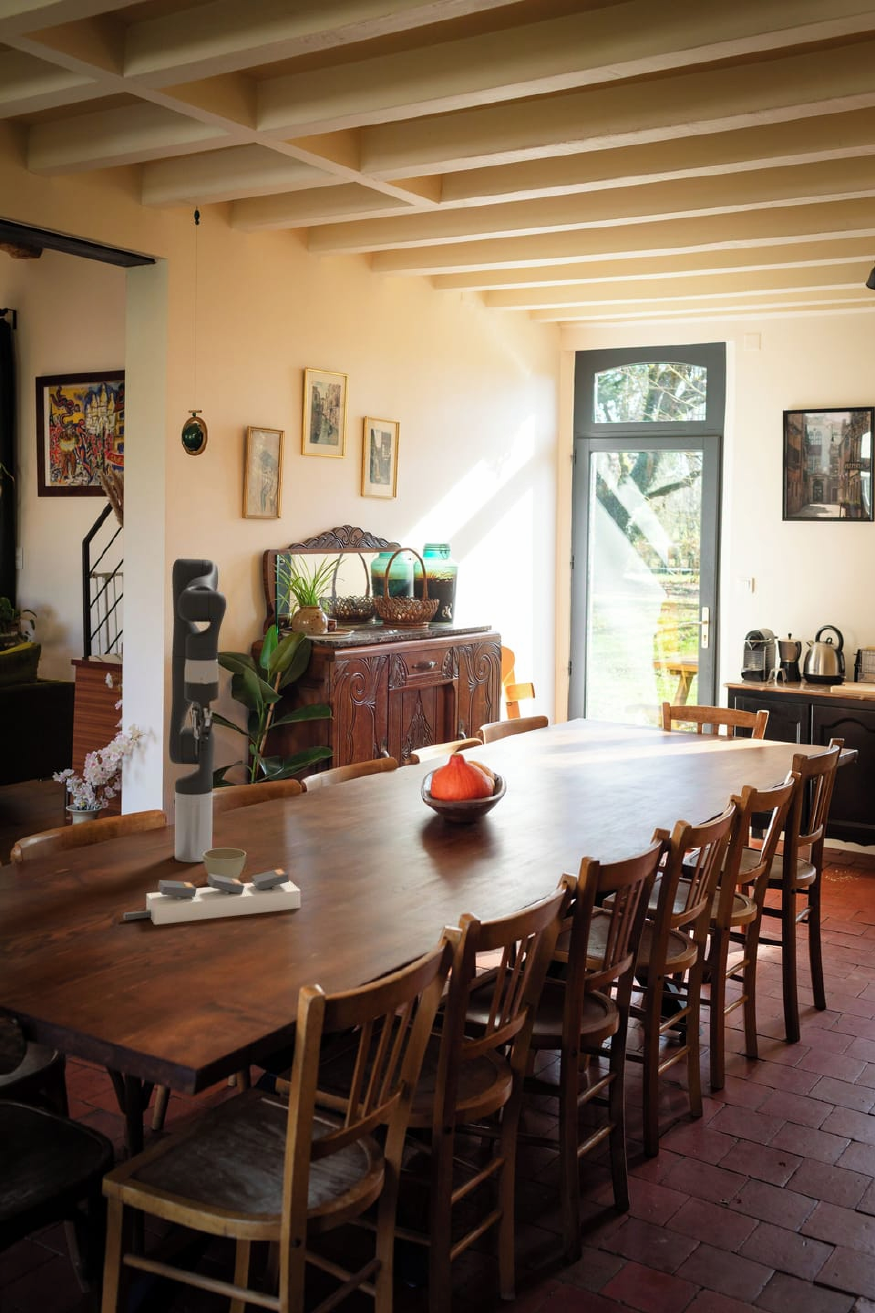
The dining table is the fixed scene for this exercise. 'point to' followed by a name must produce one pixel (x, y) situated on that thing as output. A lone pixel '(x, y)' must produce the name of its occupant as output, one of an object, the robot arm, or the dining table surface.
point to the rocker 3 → (270, 879)
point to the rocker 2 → (225, 883)
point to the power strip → (218, 903)
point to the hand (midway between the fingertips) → (201, 754)
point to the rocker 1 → (176, 888)
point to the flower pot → (224, 862)
